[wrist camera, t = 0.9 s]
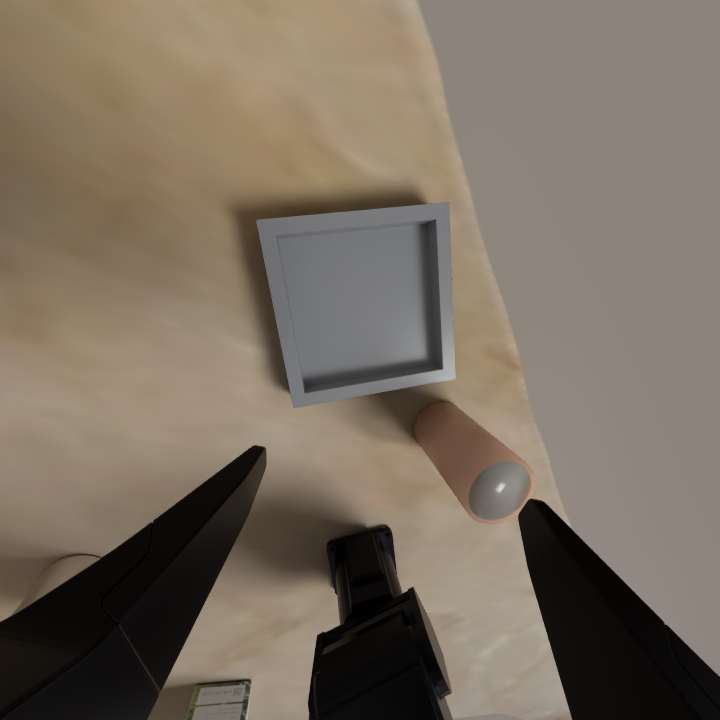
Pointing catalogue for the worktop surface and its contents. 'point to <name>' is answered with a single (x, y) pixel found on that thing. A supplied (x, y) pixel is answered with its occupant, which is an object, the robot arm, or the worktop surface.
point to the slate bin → (361, 299)
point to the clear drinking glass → (56, 576)
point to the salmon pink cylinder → (474, 464)
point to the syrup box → (220, 701)
